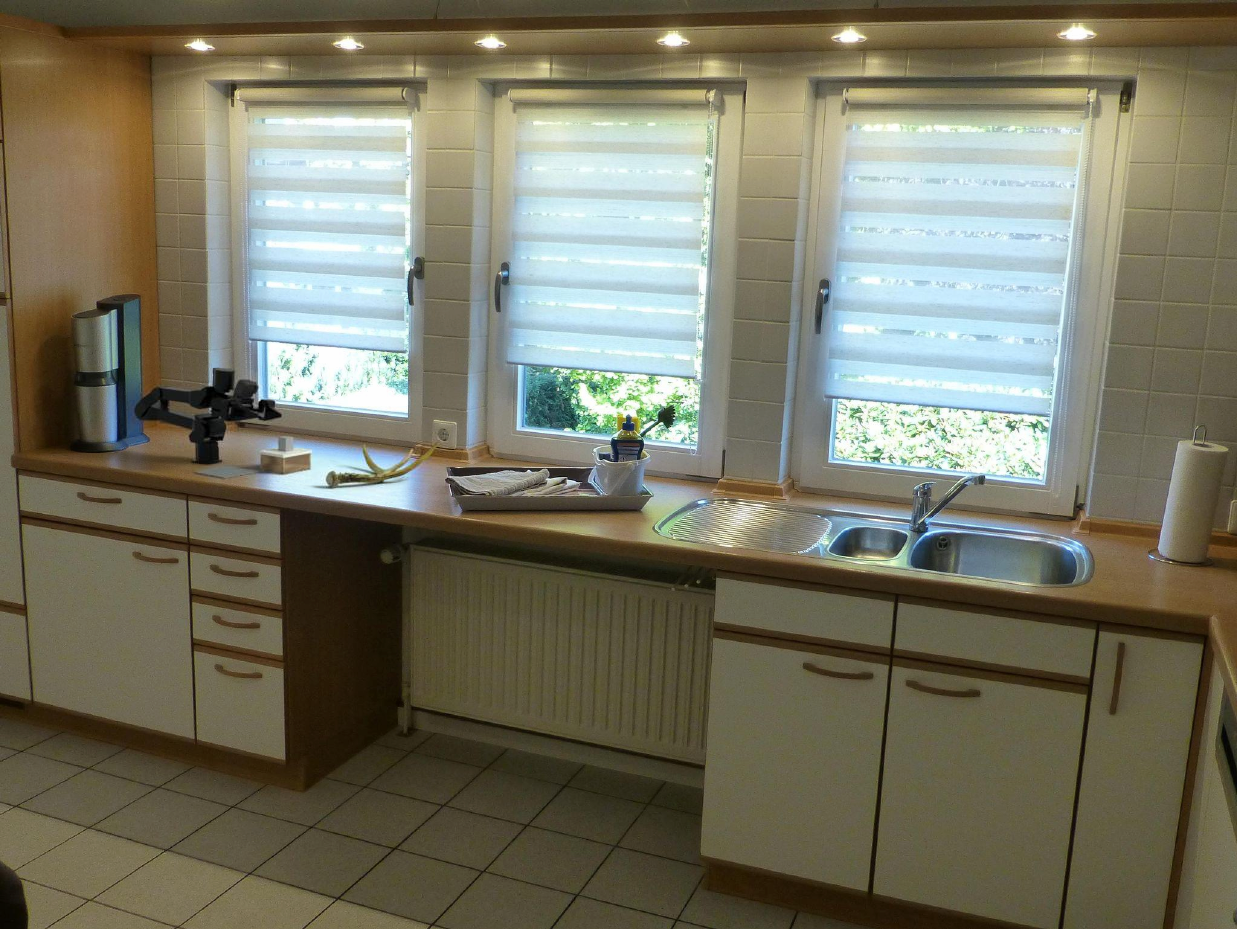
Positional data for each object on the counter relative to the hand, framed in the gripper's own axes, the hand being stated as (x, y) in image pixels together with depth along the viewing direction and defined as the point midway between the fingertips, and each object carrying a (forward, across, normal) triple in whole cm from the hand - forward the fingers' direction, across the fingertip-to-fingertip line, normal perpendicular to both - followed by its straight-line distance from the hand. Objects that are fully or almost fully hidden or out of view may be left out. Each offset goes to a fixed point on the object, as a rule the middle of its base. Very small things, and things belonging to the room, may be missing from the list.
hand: (269, 415), depth 313 cm
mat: (-8, -6, +18) cm, 21 cm away
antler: (+32, +16, +13) cm, 38 cm away
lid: (+1, +8, +11) cm, 14 cm away
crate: (+1, +8, +16) cm, 18 cm away
